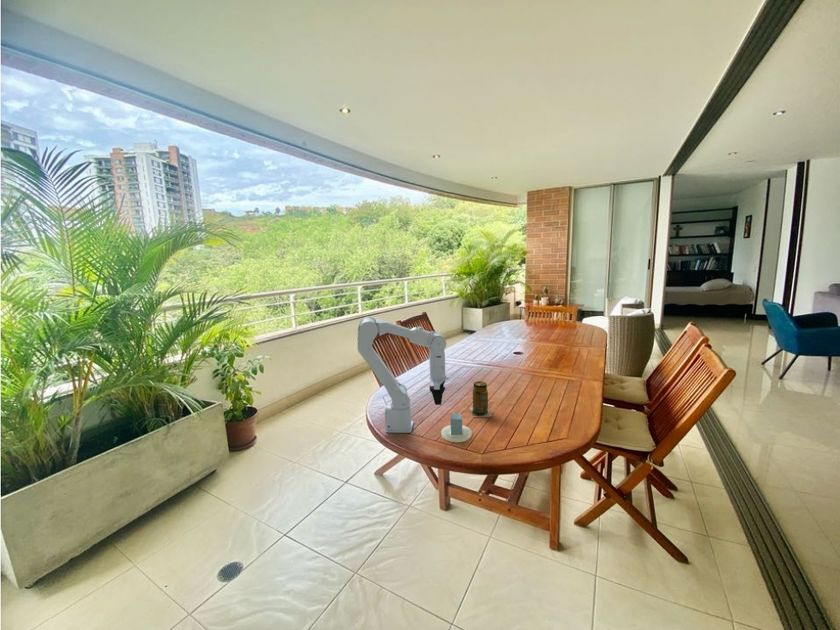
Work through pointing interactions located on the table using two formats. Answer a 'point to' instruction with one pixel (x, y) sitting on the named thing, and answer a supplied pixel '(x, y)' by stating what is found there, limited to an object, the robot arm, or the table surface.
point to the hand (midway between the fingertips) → (438, 399)
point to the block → (456, 424)
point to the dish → (456, 438)
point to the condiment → (480, 400)
